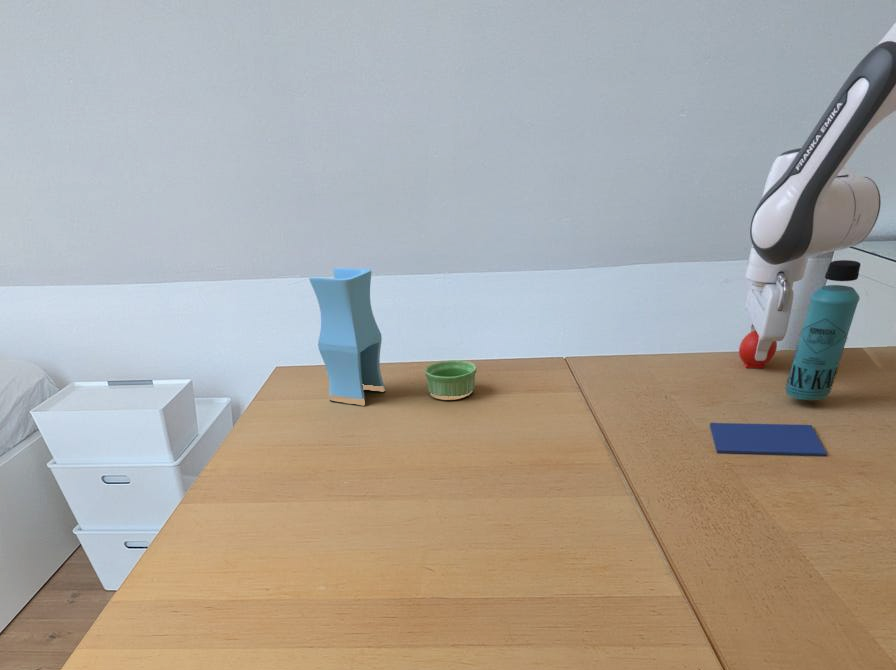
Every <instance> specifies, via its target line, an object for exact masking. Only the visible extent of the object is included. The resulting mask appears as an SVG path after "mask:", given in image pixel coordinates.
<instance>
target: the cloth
mask: <svg viewBox="0 0 896 670" xmlns="http://www.w3.org/2000/svg"><path fill="white" fill-rule="evenodd" d="M709 427H710V432H711V435H712V440H713V443H714V447H715V451H716V454H741V455H742V454H743V455H744V454H745V455H773V456H774V455H779V456H807V457H808V456H810V457H813V456H814V457H827V454H828V453H827V451H826V449H825V447H824V446H823V444H822V442H821V440H820V438H819V437H818V434H817V432H816V431H815V429H814V427H813V425H812V424H791V423H790V424H786V423H785V424H784V423H781V424H780V423H739V422H738V423H737V422H735V423H733V422H710V423H709Z"/></svg>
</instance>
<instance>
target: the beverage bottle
mask: <svg viewBox="0 0 896 670" xmlns="http://www.w3.org/2000/svg"><path fill="white" fill-rule="evenodd" d="M860 269H861V262H859V261H856V260H847V259H839V260H838V259H837V260H832V261H831V262H829V264H828V267H827V270H826V272H825V275H824V278H825V280H828V281H834V282H853V281H857V280H858V279H859V275H860ZM860 299H861V298H860V295H859V293H858V292H857V291H856V289H855V288H854V287H852V286H848V285H841V284H829V285H823V286H821V287H819V288H818V289H817V290H815V291H814V292H813V293H812V294H811V296H810V301H809V305H808V308H807V312H806V315H805V318H804V322H803V325H802V329H801V331H800V332H799V333H800V334H799V335H798V336H799V338H798V341H797V345H796V348H795V351H794V353H793V356H792V357H793V360H792V361H791V365H790V369H789V370H788V371H789V374H788V376H787V380H786V382H785V386H784V387H785V394H786V395H787V396H789V397H791V398H794V399H798V400H803V401H818V400H823V399H825V398H828V396H829V395H830V393H831V391H832V389H833V386H834V384H835V380H836V379H835V378H836V376H837V375H838V370H839V367H840V362H841V360H842V359H843V354H844V352H845V351H844V350H845V345H846V343H847V341H848V340H849V337H848V335H849V332H850V329H851V326H852V323H853V319H854V316H855V313H856V310H857V306H858V303H859V301H860Z"/></svg>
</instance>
